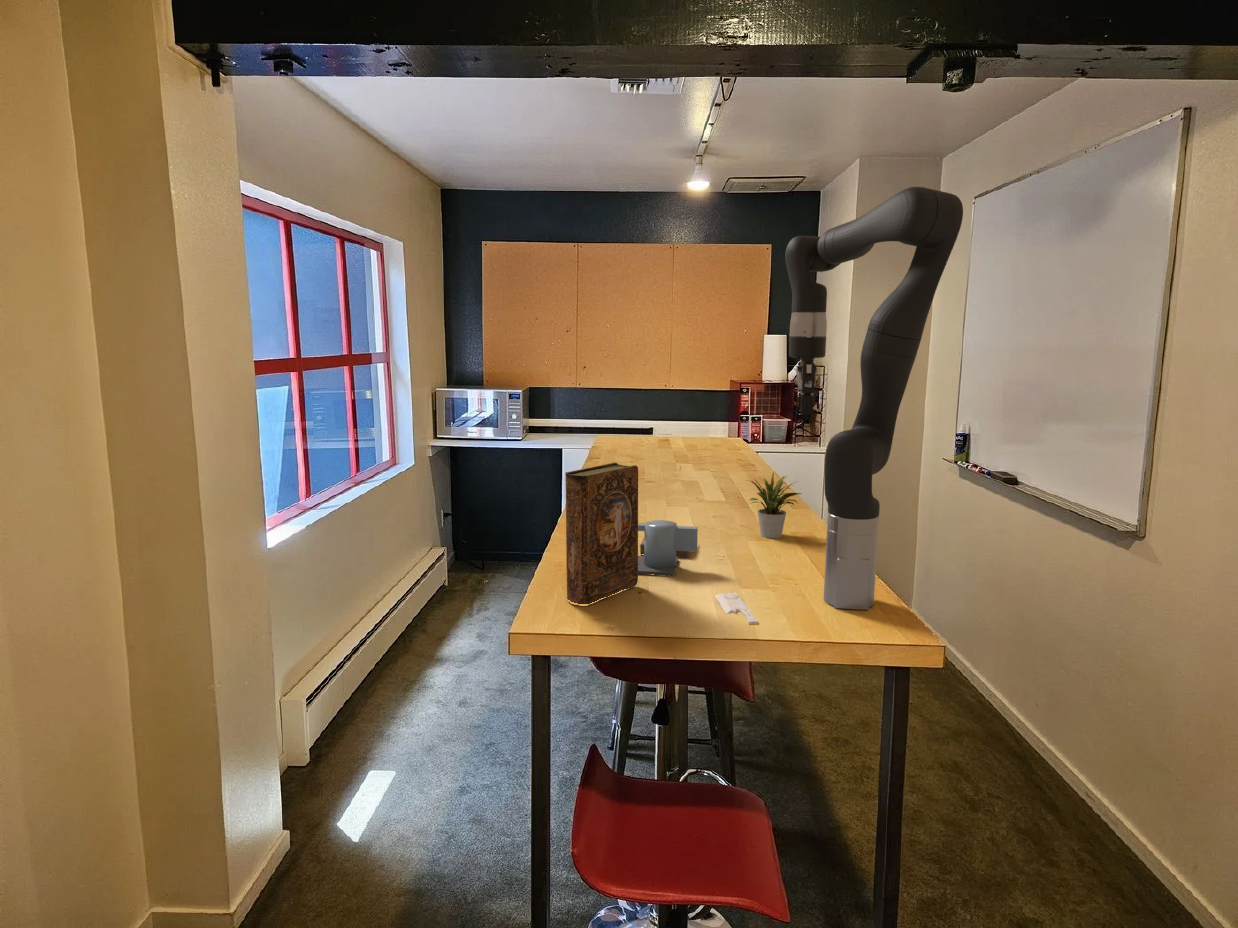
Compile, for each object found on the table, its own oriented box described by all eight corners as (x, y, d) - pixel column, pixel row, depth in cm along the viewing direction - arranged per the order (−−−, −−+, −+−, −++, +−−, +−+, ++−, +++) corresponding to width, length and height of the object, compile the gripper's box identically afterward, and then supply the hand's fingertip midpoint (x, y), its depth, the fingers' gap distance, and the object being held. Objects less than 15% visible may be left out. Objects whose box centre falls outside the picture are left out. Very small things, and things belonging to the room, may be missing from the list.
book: (583, 608, 141) (582, 476, 137) (562, 601, 144) (561, 473, 140) (638, 585, 153) (638, 464, 149) (617, 580, 157) (617, 461, 153)
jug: (636, 567, 162) (636, 527, 161) (640, 558, 169) (640, 519, 168) (695, 570, 160) (696, 529, 159) (697, 561, 167) (698, 521, 166)
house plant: (753, 545, 182) (755, 479, 179) (730, 531, 195) (732, 469, 192) (806, 541, 186) (809, 476, 183) (780, 527, 199) (782, 466, 196)
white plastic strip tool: (729, 627, 133) (729, 621, 133) (712, 598, 148) (712, 592, 148) (757, 625, 133) (758, 619, 133) (737, 596, 148) (737, 591, 148)
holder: (687, 557, 173) (688, 546, 172) (640, 555, 174) (640, 544, 174) (691, 544, 183) (691, 534, 183) (646, 542, 185) (646, 532, 185)
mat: (673, 576, 159) (673, 572, 159) (622, 573, 161) (622, 569, 161) (678, 560, 170) (678, 557, 170) (629, 558, 172) (629, 555, 172)
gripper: (787, 334, 166) (784, 408, 169) (791, 334, 152) (788, 414, 155) (822, 334, 165) (819, 408, 168) (829, 334, 151) (826, 415, 154)
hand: (804, 411), depth 161 cm, fingers open, 8 cm apart
